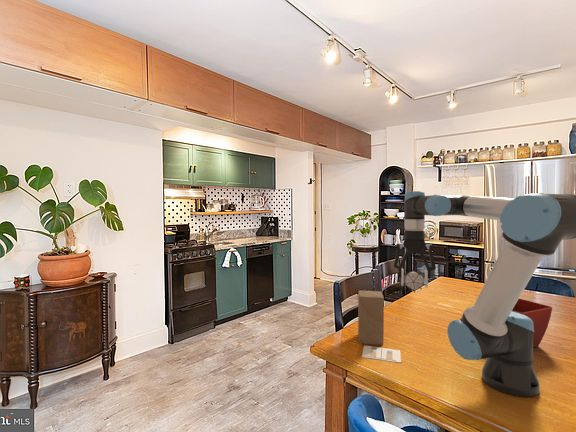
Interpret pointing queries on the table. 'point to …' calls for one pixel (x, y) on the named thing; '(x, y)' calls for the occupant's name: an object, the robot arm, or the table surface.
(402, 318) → the table surface
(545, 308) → the plant pot
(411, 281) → the game die
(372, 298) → the wooden block
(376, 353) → the page
